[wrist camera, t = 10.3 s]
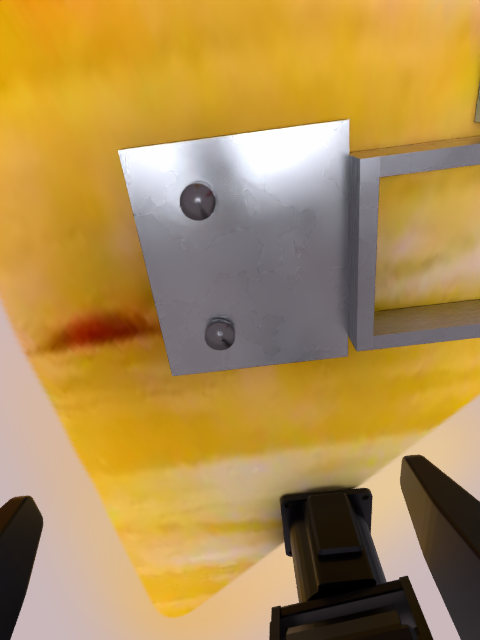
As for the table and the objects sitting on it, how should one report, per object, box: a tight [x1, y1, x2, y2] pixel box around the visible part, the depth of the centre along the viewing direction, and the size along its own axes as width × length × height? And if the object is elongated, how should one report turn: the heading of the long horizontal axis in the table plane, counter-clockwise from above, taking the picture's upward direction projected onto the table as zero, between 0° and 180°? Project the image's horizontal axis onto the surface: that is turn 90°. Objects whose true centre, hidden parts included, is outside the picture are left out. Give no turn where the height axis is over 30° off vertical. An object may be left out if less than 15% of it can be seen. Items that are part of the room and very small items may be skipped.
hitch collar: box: [118, 119, 480, 376], centre depth 19 cm, size 12×19×2 cm, turn 97°
